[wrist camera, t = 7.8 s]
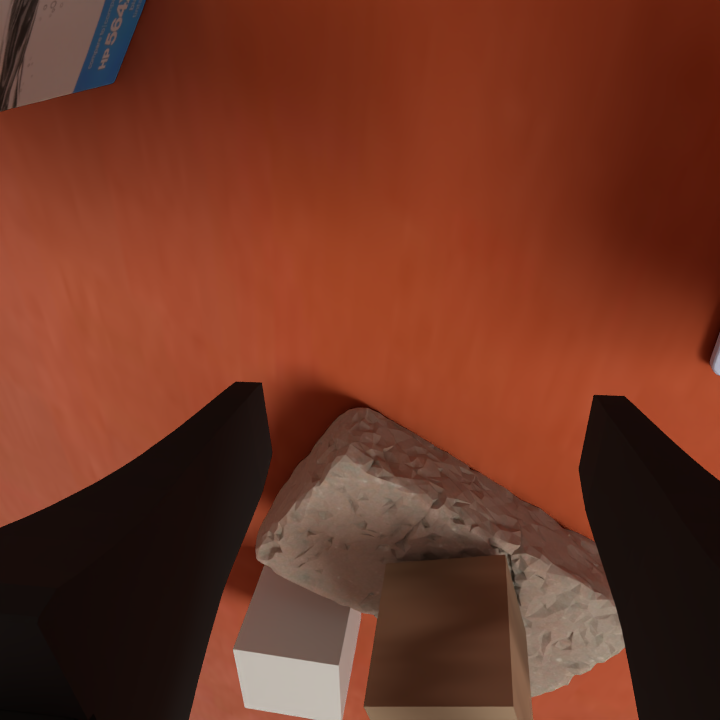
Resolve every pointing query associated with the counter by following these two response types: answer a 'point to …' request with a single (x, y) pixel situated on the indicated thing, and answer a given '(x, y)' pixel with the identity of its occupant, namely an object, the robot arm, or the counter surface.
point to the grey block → (295, 650)
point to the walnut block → (449, 643)
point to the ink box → (61, 46)
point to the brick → (435, 538)
